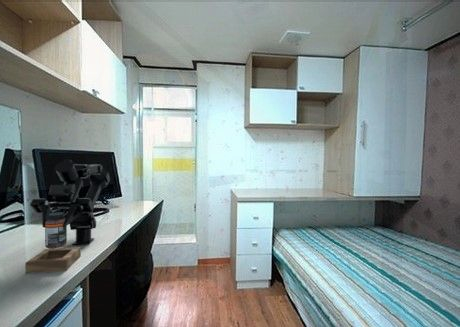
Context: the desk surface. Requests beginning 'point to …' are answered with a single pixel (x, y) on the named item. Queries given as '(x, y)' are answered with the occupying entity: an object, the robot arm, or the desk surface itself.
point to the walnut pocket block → (53, 260)
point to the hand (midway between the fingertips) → (53, 226)
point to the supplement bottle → (55, 231)
